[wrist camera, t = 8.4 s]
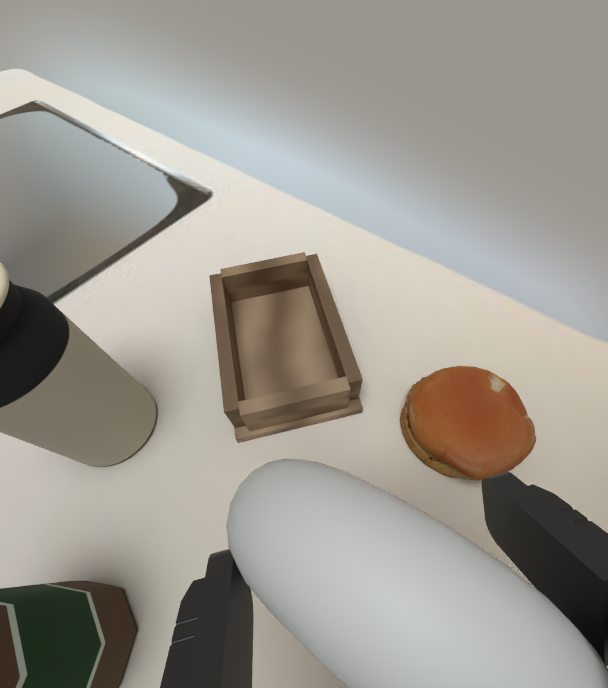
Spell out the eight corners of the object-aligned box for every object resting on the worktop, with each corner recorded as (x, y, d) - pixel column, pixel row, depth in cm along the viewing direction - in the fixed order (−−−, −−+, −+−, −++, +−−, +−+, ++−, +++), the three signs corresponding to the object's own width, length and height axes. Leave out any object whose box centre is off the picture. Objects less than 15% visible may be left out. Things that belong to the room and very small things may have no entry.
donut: (506, 620, 13) (872, 755, 4) (478, 733, 11) (955, 1295, 3) (287, 474, 16) (243, 382, 7) (243, 546, 14) (125, 533, 6)
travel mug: (157, 377, 34) (22, 234, 19) (158, 454, 30) (-13, 350, 15) (77, 396, 33) (-131, 264, 18) (67, 478, 29) (-214, 395, 14)
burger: (387, 453, 29) (397, 437, 25) (416, 367, 33) (429, 341, 29) (507, 506, 26) (540, 498, 22) (522, 405, 31) (552, 384, 27)
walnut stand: (316, 279, 40) (315, 247, 36) (361, 412, 31) (367, 390, 27) (220, 299, 39) (207, 269, 35) (238, 442, 30) (224, 424, 26)
